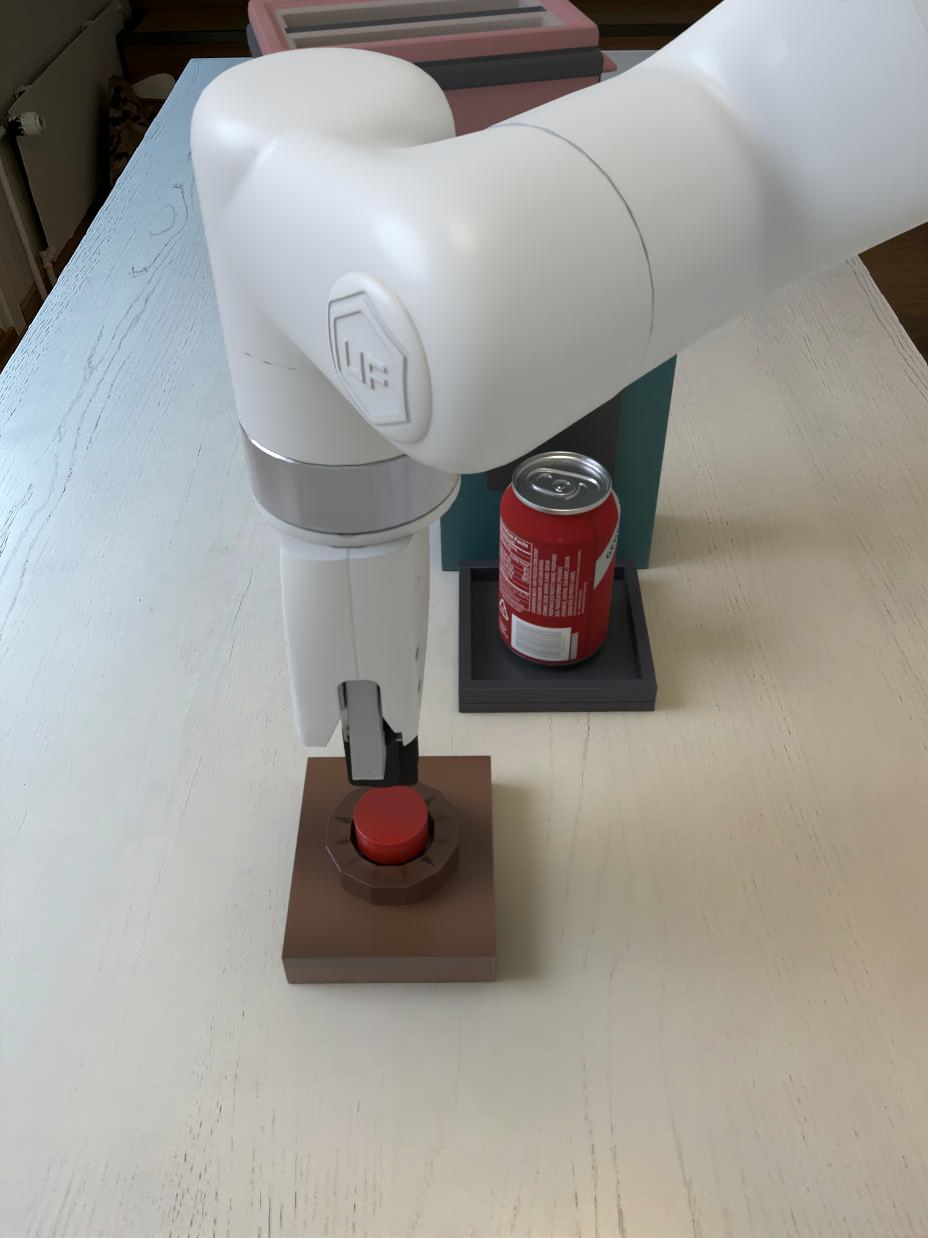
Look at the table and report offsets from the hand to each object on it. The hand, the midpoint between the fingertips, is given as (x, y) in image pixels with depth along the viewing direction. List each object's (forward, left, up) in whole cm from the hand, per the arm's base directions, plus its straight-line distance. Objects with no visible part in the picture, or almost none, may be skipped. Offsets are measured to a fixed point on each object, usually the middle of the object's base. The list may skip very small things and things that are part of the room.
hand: (384, 772), depth 51 cm
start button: (0, 0, -5) cm, 5 cm away
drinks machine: (+27, -9, -9) cm, 30 cm away
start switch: (0, 0, -9) cm, 9 cm away
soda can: (+17, -9, -8) cm, 21 cm away
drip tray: (+17, -9, -9) cm, 21 cm away
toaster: (+77, -1, -9) cm, 77 cm away
